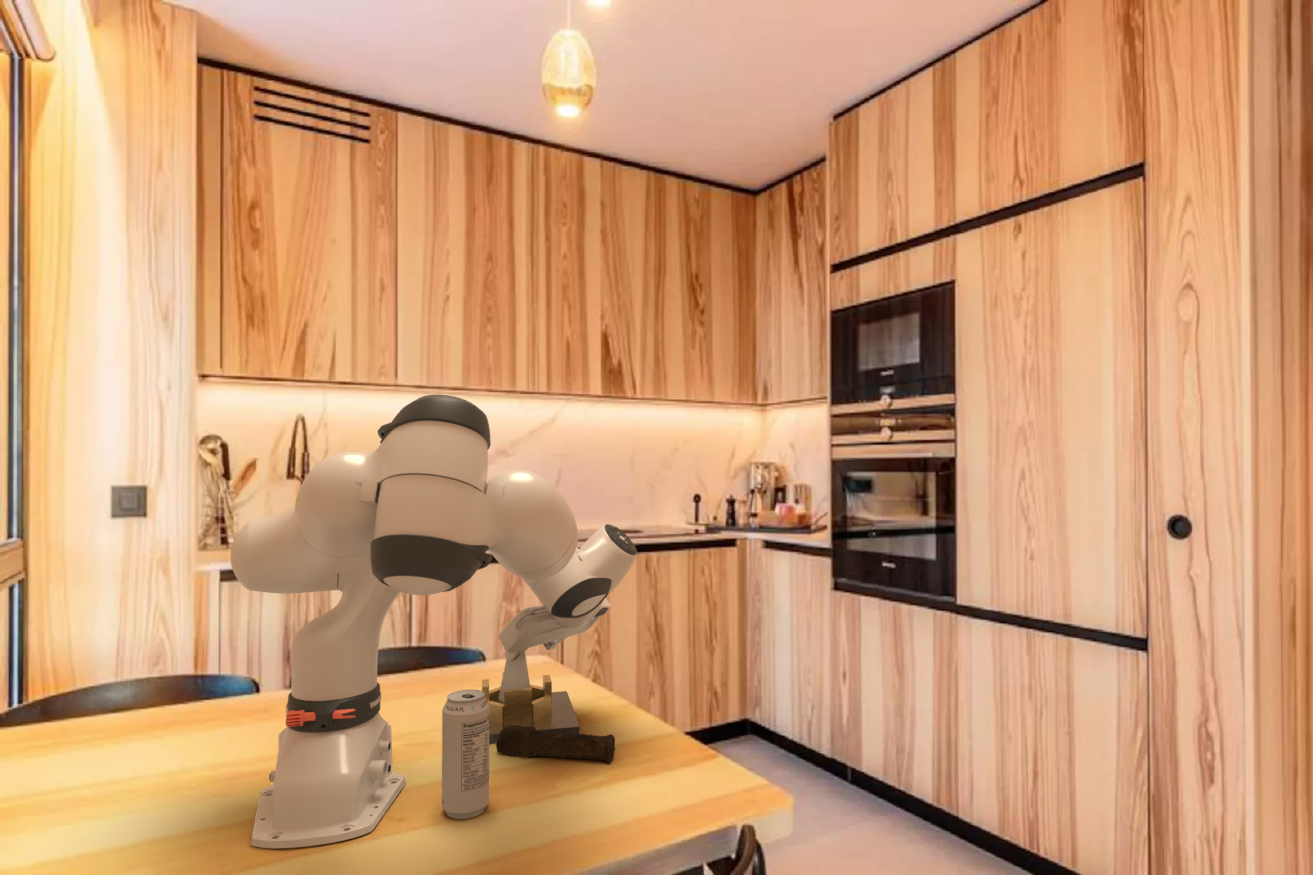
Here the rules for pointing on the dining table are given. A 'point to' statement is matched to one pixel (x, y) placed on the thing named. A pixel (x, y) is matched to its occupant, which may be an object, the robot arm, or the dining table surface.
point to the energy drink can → (465, 754)
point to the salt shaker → (515, 675)
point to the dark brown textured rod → (554, 744)
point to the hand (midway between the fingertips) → (529, 651)
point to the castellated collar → (531, 709)
